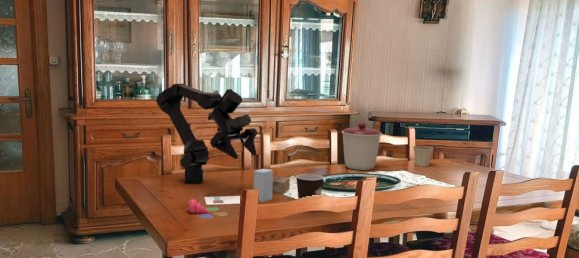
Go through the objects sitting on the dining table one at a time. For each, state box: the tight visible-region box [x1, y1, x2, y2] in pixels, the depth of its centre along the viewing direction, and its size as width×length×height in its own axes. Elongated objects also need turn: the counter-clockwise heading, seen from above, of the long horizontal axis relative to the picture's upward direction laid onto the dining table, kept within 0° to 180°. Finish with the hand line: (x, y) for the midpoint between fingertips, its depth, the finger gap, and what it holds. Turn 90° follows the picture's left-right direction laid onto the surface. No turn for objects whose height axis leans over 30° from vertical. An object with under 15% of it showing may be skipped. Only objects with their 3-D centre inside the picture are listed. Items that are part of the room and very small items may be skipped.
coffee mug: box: [296, 173, 325, 199], centre depth 159 cm, size 12×9×10 cm
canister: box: [341, 121, 383, 171], centre depth 223 cm, size 18×18×21 cm
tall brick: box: [253, 168, 274, 203], centre depth 166 cm, size 4×5×10 cm
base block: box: [272, 175, 291, 195], centre depth 180 cm, size 8×8×4 cm
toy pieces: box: [186, 198, 229, 219], centre depth 150 cm, size 12×11×4 cm
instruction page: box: [204, 195, 241, 206], centre depth 164 cm, size 12×9×1 cm
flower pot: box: [412, 145, 434, 167], centre depth 235 cm, size 9×9×9 cm
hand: (246, 156), depth 170 cm, fingers open, 9 cm apart
